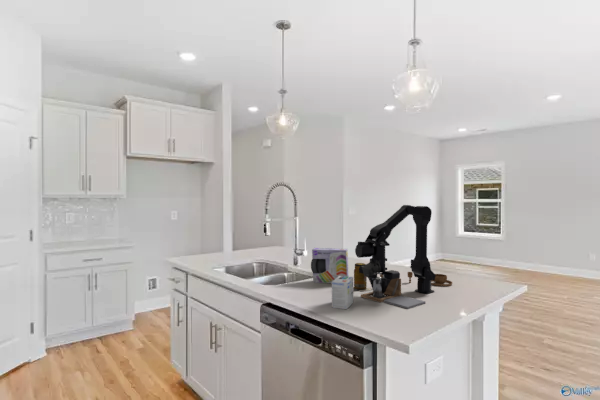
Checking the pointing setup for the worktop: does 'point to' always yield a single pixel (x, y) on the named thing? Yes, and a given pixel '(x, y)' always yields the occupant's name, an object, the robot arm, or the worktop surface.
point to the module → (377, 288)
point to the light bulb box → (342, 292)
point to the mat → (404, 302)
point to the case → (387, 291)
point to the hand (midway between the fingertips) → (378, 291)
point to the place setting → (436, 280)
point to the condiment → (360, 279)
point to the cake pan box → (329, 264)
